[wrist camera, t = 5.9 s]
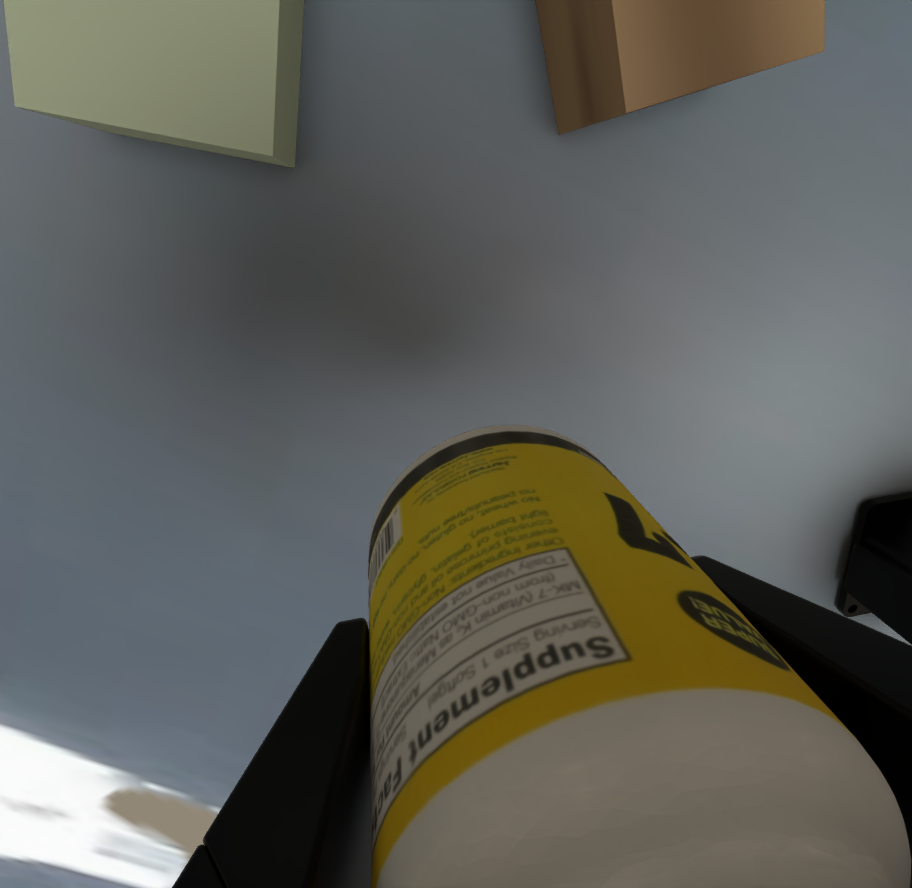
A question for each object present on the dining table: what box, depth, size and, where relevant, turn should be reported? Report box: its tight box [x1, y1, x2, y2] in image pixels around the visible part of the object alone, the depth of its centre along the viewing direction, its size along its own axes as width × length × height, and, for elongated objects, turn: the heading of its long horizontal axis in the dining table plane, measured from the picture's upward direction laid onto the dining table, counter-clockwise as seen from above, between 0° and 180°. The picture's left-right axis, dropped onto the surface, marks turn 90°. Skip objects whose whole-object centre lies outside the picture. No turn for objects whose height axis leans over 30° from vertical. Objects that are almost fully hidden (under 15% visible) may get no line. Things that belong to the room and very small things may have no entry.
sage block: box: [4, 0, 304, 168], centre depth 13 cm, size 5×5×5 cm
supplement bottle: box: [368, 425, 911, 888], centre depth 7 cm, size 5×5×8 cm
